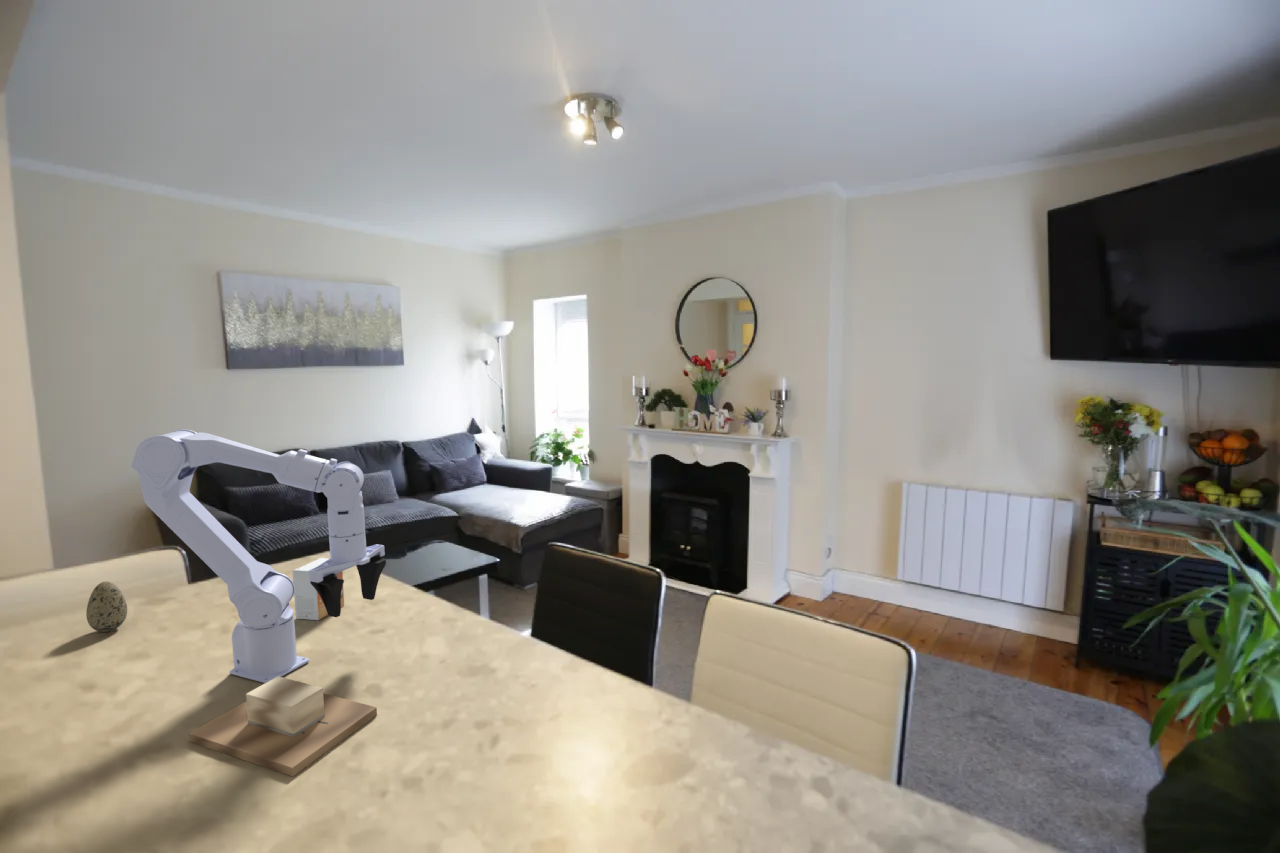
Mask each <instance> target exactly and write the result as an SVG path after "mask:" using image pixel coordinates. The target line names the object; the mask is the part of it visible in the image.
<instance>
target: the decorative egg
mask: <svg viewBox="0 0 1280 853" xmlns="http://www.w3.org/2000/svg"><path fill="white" fill-rule="evenodd" d="M92 590H93V591H92V592H91V593H90V596H89V598H88V600H87V601H88V602H87V606H86V620H87V623H88V625H89V627H90V628H91V629H93V631H97V632H99V633H100V632H101V633H108V632H111V631H114V630H116V629H118V628H119V627H121V625H122V624H124V622H125V620H126V618H127V615H128V604H127V601H126V598H125V596H124V594H123V593H122V591H121V590H120V588H119V587H118V586H117V585H116V584H114V583H113V582H111V581H102V582H100V583H98V584H97V585H96V586H95V588H94V589H92Z"/></svg>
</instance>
